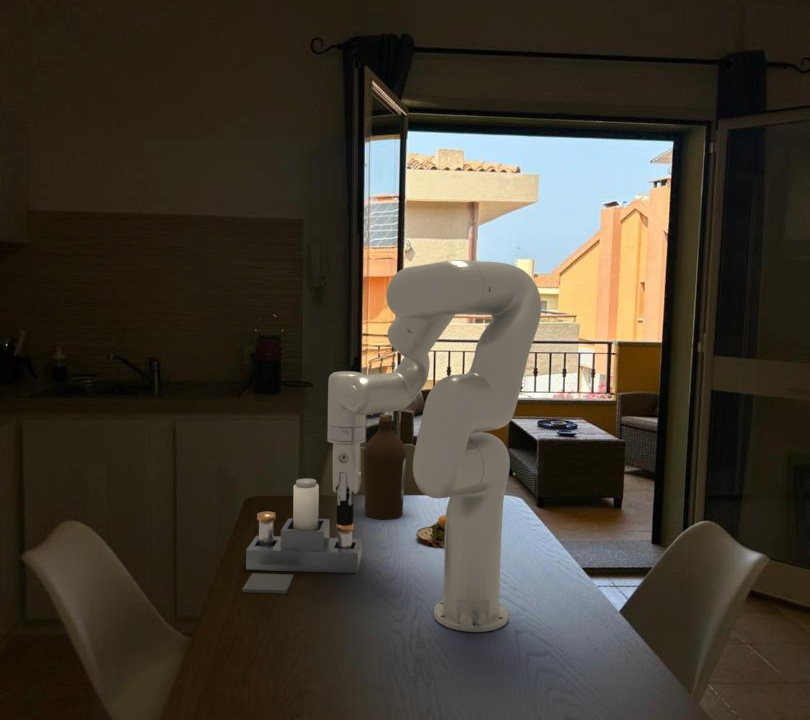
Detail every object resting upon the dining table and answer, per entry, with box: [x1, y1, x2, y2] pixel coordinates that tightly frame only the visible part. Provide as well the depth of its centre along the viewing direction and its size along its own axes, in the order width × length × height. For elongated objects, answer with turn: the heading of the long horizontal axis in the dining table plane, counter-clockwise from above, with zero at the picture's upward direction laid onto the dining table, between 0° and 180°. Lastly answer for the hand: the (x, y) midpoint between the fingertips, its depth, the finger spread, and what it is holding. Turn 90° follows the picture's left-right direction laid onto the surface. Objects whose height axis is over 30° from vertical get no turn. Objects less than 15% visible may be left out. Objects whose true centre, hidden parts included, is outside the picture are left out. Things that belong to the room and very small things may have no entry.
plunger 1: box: [256, 511, 276, 546], centre depth 155 cm, size 4×4×8 cm
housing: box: [245, 517, 363, 574], centre depth 155 cm, size 22×9×8 cm, turn 89°
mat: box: [241, 572, 295, 595], centre depth 143 cm, size 8×8×1 cm
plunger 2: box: [335, 522, 355, 549], centre depth 155 cm, size 4×4×8 cm
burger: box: [415, 514, 446, 549], centre depth 172 cm, size 12×12×8 cm
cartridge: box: [292, 478, 320, 530], centre depth 154 cm, size 5×5×13 cm
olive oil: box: [363, 413, 407, 520], centre depth 191 cm, size 11×11×25 cm
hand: (344, 523), depth 154 cm, fingers closed
